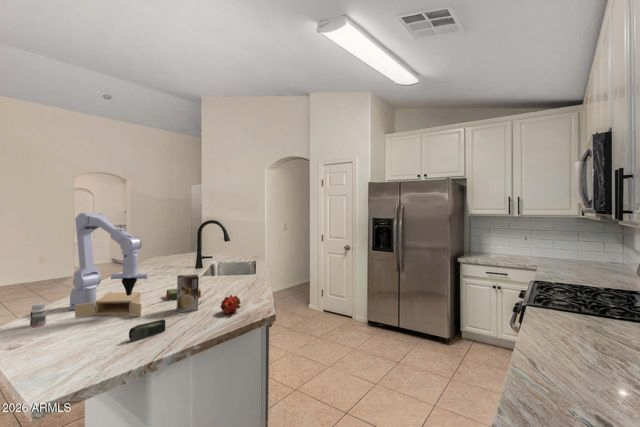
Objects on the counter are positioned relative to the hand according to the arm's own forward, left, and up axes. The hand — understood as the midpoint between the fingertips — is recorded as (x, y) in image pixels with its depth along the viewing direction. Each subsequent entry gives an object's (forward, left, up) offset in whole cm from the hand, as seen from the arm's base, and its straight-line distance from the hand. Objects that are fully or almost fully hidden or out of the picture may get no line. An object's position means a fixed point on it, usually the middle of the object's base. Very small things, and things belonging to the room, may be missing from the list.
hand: (129, 294), depth 144 cm
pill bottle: (-29, -10, -9) cm, 32 cm away
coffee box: (+24, +4, -9) cm, 26 cm away
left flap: (-16, -2, -8) cm, 18 cm away
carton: (+19, +26, -9) cm, 33 cm away
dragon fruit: (+44, -3, -9) cm, 45 cm away
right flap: (+4, -3, -8) cm, 10 cm away
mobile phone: (+14, -27, -9) cm, 32 cm away
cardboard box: (-6, +7, -9) cm, 12 cm away
